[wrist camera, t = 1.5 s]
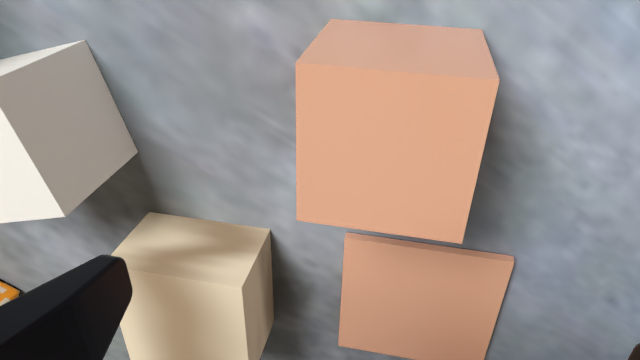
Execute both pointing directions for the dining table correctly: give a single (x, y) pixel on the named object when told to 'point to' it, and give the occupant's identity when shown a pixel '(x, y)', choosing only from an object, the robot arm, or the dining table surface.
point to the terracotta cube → (392, 127)
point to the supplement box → (7, 293)
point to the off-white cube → (56, 132)
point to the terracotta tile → (420, 298)
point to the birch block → (197, 289)
